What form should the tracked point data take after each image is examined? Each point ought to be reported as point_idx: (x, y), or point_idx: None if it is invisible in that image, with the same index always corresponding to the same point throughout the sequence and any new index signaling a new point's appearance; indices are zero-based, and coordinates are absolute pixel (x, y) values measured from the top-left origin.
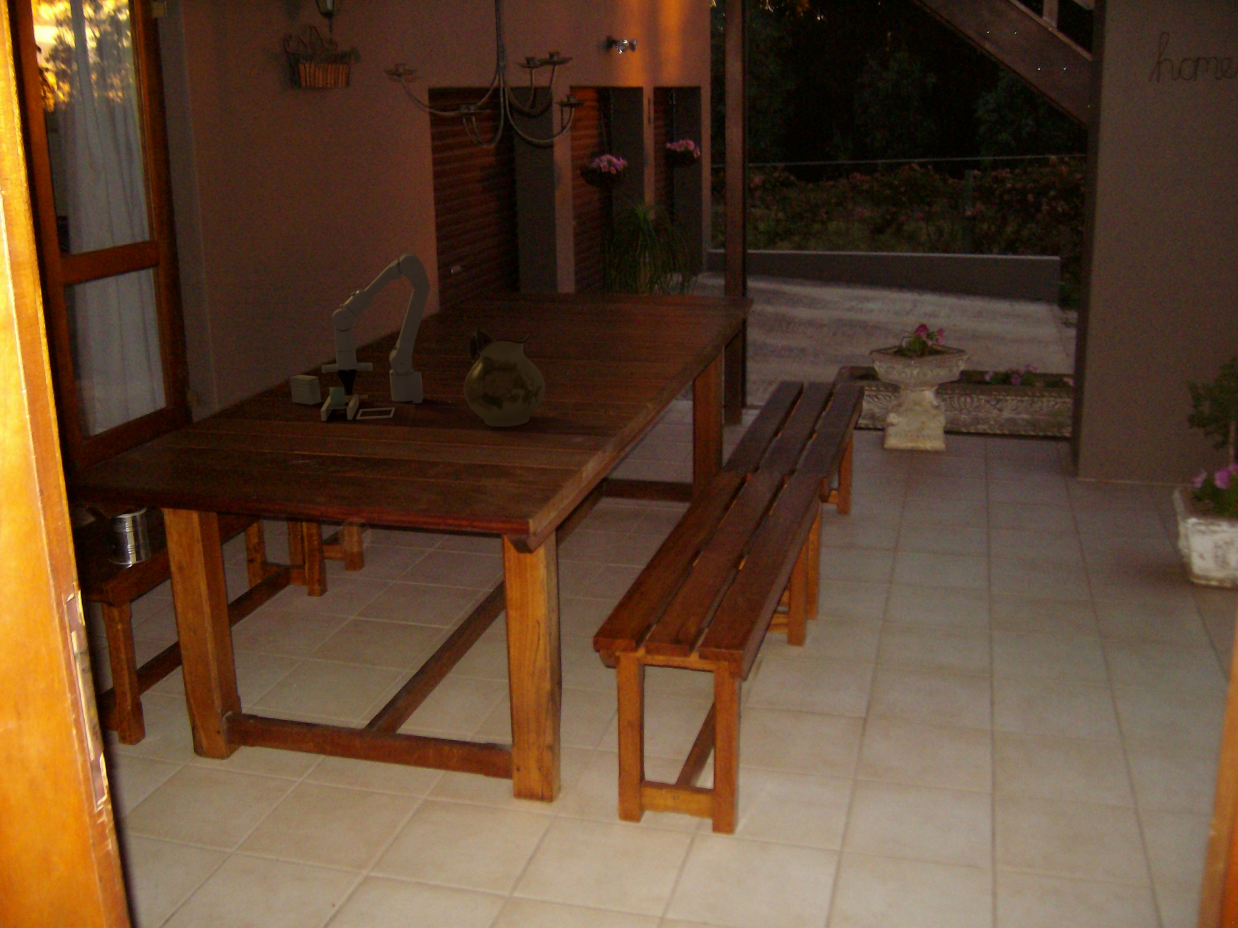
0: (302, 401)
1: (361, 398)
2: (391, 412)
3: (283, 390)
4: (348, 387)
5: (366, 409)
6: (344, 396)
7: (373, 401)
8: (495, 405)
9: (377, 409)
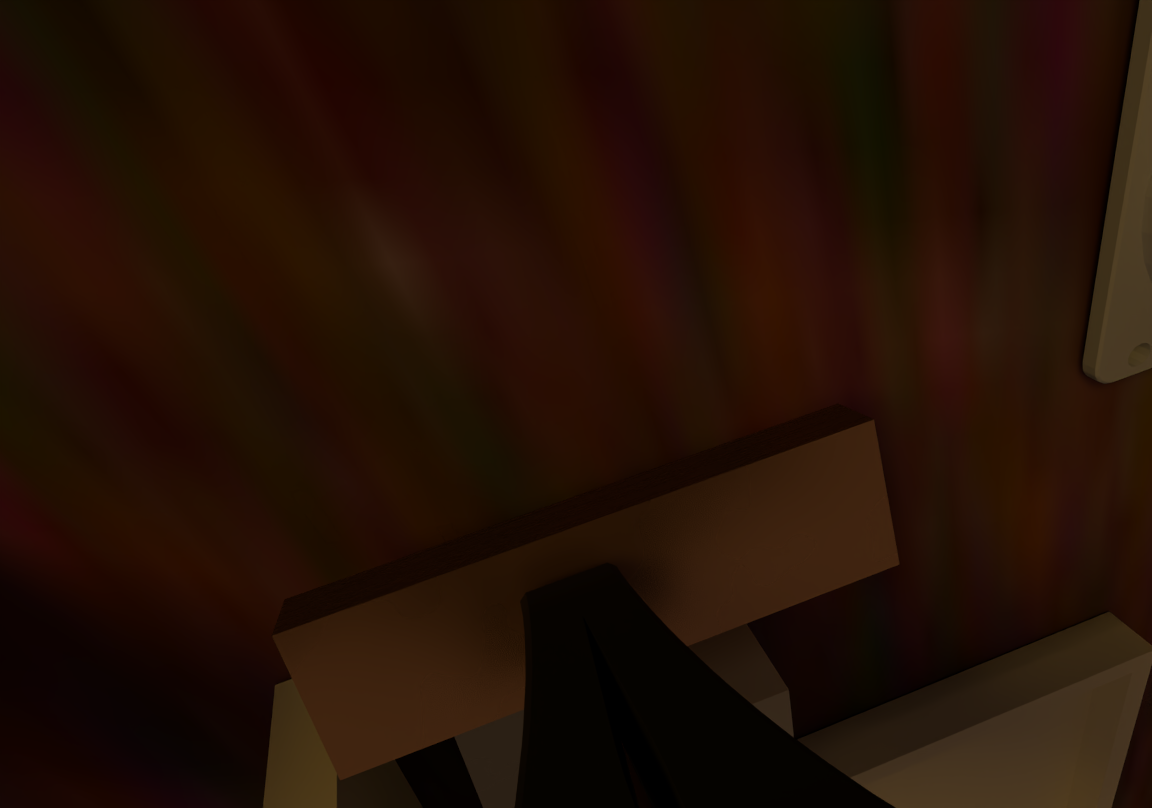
0: None
1: (733, 447)
2: (1104, 785)
3: None
4: (632, 792)
5: (873, 780)
6: (508, 709)
7: (827, 144)
8: None
9: (978, 727)
